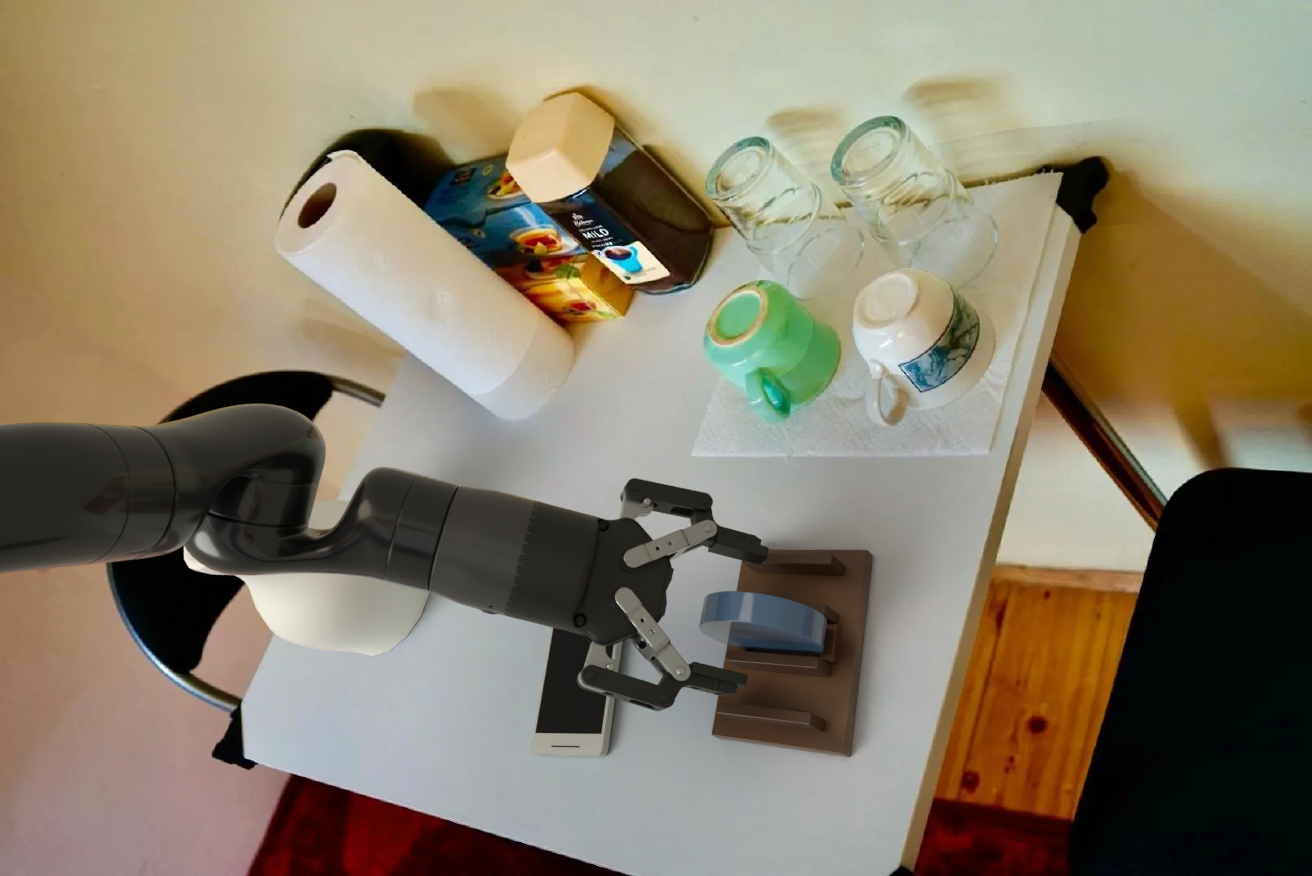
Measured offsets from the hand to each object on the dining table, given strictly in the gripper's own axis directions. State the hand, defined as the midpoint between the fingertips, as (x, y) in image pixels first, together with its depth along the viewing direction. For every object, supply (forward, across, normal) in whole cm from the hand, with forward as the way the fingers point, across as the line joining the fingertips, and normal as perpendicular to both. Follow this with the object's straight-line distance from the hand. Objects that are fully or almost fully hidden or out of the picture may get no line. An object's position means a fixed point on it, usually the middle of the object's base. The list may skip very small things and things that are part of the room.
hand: (754, 617), depth 59 cm
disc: (+1, 0, +1) cm, 2 cm away
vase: (-28, +2, +38) cm, 47 cm away
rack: (+5, 0, +5) cm, 7 cm away
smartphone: (-8, -2, +18) cm, 20 cm away
